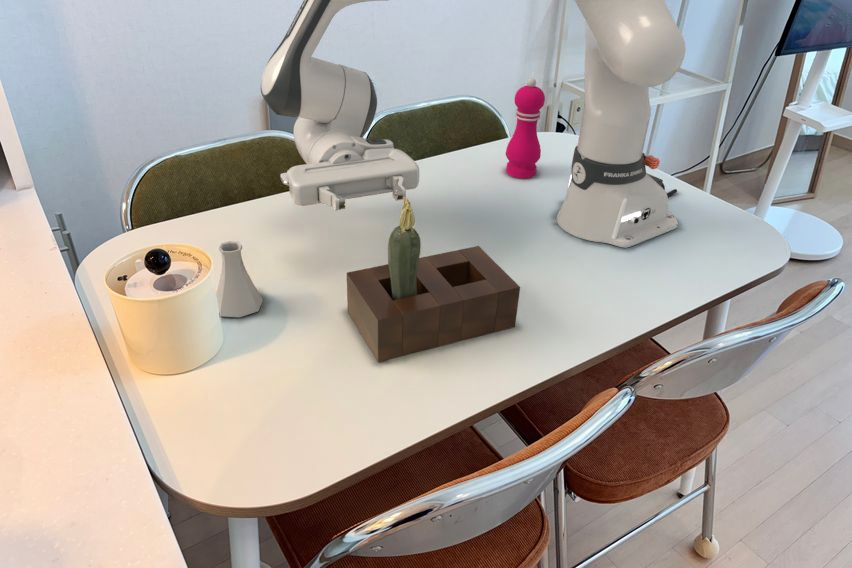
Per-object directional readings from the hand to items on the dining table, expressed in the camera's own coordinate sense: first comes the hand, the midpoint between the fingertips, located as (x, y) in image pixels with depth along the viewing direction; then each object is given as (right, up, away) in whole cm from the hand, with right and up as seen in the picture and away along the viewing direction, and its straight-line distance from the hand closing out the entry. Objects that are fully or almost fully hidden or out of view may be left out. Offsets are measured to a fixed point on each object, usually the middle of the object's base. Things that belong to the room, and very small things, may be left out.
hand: (371, 200), depth 101 cm
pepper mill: (+28, +11, +46) cm, 55 cm away
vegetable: (+5, -18, -1) cm, 19 cm away
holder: (+9, -17, 0) cm, 19 cm away
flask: (-20, -15, +2) cm, 25 cm away
